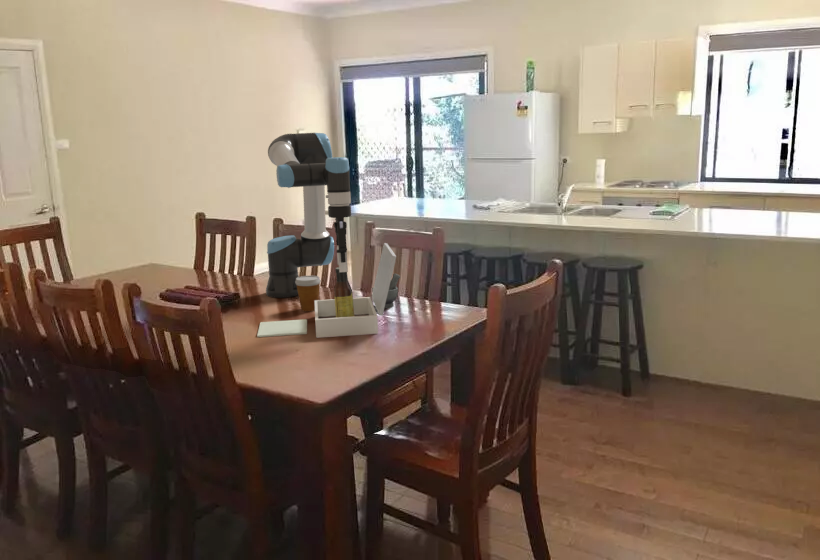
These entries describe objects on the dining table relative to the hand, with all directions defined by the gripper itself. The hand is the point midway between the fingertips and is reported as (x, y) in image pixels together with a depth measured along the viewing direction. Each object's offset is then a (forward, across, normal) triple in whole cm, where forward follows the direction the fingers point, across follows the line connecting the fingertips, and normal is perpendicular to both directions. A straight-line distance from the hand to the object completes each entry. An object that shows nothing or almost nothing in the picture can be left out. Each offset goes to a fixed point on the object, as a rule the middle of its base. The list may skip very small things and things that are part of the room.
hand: (342, 268), depth 230 cm
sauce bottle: (+20, 0, 0) cm, 20 cm away
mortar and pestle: (+20, -22, +17) cm, 34 cm away
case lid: (+4, 0, +13) cm, 14 cm away
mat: (+20, 0, -21) cm, 29 cm away
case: (+20, 0, 0) cm, 20 cm away
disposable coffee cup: (+20, -24, -12) cm, 34 cm away
